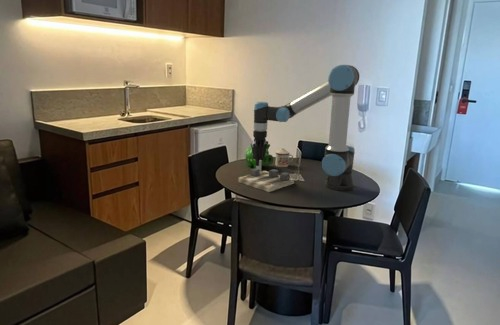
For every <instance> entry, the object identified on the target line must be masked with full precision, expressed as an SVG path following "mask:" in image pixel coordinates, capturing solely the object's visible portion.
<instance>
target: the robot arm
mask: <svg viewBox="0 0 500 325" xmlns="http://www.w3.org/2000/svg"><path fill="white" fill-rule="evenodd" d="M359 81H360V72H359V70H358V69H357V68H356V66H353V65H350V64H339V65H336V66H335V67H333V68H332V69H330V72H329V74H328V77H327V81H326V82H323V83H322V84H320V85H318V86H317V87H315V88H313V89H311V90H309V91H308V92H305V93H304V94H303V95H301V96H299V97H297V98H296V99H294V100H292V101H290V102H288V103H287V104H285V105H281V106H270V105H269V103H268V101H256V102H254V109H253V132H252V133H253V135H252V136H253V138H254V139H253V142H251V143H250V147H252V154H253V159H255V160H256V169H260V172H261V171H262V167H261V165H262V160H264V159H263V158H265V154H266V149H267V145H268V144H269V141H267V139H266V138H267V136H268V132H267V130H268V121H273V122H279V123H287V122H288V120H289V119H292V118H294V117H295V116H297V115H298V114H299V113H301V112H304V111H305V110H306V109H309V108H311V107H312V106H314V105H316V104H318V103H320V102H323V100H325V99H327V98H329V97H332V99H331V111H330V123H329V135H328V137H329V138H328V145H326V146H325V149H324V157H323V158H322V160H321V167H322V169H323V170H322V171H323V172H325V173H326V174H327V175H328V176H327V178H326V180H325V186H326V187H327V188H329V189H331V190H335V191H339V192H340V191H343V192H345V191H352V190H353V189H354V188H355V183H354V177H353V168H354V159H355V154H356V152H355V148H354V147H353V146H349V145H347V141H348V128H349V116H350V109H351V108H350V106H351V97H353V96H354V94H355V88H356V85H358V84H359Z"/></svg>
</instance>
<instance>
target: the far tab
mask: <svg viewBox="0 0 500 325" xmlns="http://www.w3.org/2000/svg"><path fill="white" fill-rule="evenodd" d="M249 171H250V174H249V175H252V176H258V175H260V172H261V171H260V169H256V168H254V167H253V168H251V169H250V170H249Z"/></svg>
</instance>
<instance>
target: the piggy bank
mask: <svg viewBox="0 0 500 325" xmlns="http://www.w3.org/2000/svg"><path fill="white" fill-rule="evenodd" d="M270 146H271V144H270V143H268V145H267V149H266V154H265V158H263V159H264V160H262V165H261V168H266V167H267V166H270V165H272V164H273V163H274V156H273V155H272V154H270V152H269V148H270ZM244 158H245V160H246V165H247V166H248V167H250V168H251V167H253V169H254V168H256V160H255V159H253V154H252V147H251V146H250V147H247V149H246V150H245V152H244Z"/></svg>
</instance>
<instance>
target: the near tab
mask: <svg viewBox="0 0 500 325" xmlns="http://www.w3.org/2000/svg"><path fill="white" fill-rule="evenodd" d="M290 174H291V173H288V172H281V173H280V174H279V175H280V179H281V180H288V179H289V178H291V177H290V176H291V175H290Z"/></svg>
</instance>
